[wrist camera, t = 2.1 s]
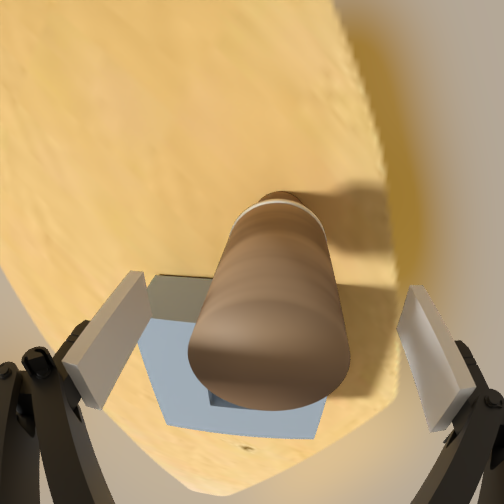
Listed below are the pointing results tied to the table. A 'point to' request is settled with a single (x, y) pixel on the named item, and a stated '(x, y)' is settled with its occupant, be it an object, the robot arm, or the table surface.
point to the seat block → (186, 383)
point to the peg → (272, 312)
